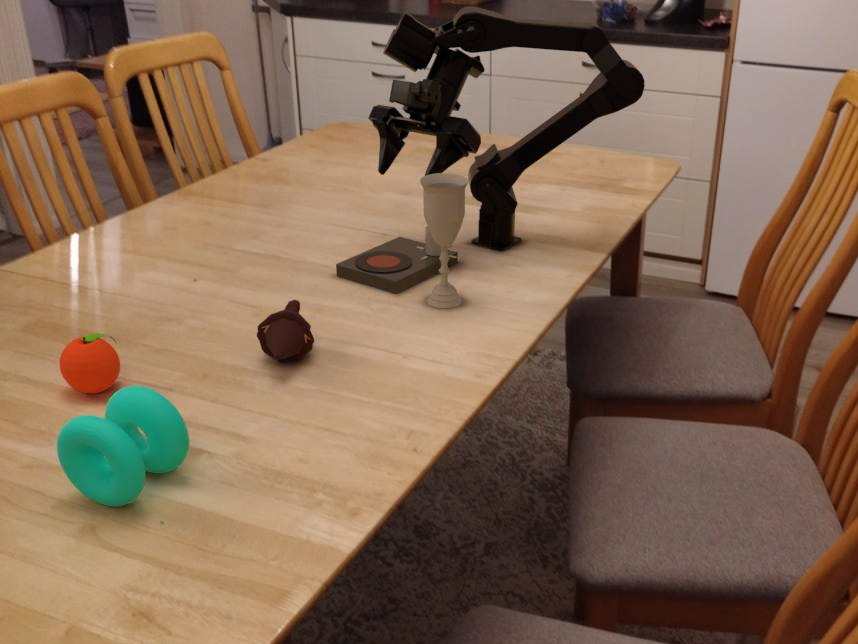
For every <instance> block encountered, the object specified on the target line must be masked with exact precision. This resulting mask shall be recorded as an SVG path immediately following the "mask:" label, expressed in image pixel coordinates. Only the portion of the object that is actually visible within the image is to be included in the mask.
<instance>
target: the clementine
mask: <svg viewBox="0 0 858 644" xmlns="http://www.w3.org/2000/svg"><path fill="white" fill-rule="evenodd" d="M102 337H108V338H111V339H112V340H113V341H114V343H115V344H118V342H117V341H116V339H115V338H114V337H113V336H112V335H107V334H104V333H92V334H88V335H84V336H79V337H75V338H74V339H72V340H71V341H70V342H68V344H66V345H65V347H64V348H63V350H62V352H61V353H60V357H59V371H60V374H61V376H62V378H63V379H64V381H65V382H66V384H68V386H69V387H71V388H72V389H74V390H75V391H78V392H81V393H84V394H98V393H103V392H104V391H106V390H108V389H109V388H111V387H112V386H113V385H114V384H115V383H116V381H117V380H118V377H119V376H120V371H121V361H120V360H121V359H120V358H119V357H120V356H119V354H118V352H117V351H116V349H115V348H114V347H113V346H112V345H111V344H110V343H109V342H108V341H107V340H105V339H103V338H102Z"/></svg>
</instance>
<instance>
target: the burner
mask: <svg viewBox="0 0 858 644" xmlns="http://www.w3.org/2000/svg"><path fill="white" fill-rule="evenodd" d="M355 265H356V266H357V267H358V268H359V269H361V270H364V271H368V272H374V273H392V272H398V271H402V270H405V269H407V268H409V267H410V266H411V265H412V259H411V258H410V257H409V256H407V255H405V254H402V253H398V252H391V251H378V252H370V253H366V254H363V255H361V256H359V257H357V258H356V260H355Z"/></svg>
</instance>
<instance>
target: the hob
mask: <svg viewBox="0 0 858 644" xmlns="http://www.w3.org/2000/svg"><path fill="white" fill-rule="evenodd" d="M452 245H453V244H451V245H449V246H448V256H449V258H450V259H449V260H448V263H447V265H448V268H449V269H450V268H452V267H454V266H456V265H458V264H459V252H458V251H456V250H452V249H449V248H451V247H452ZM378 251H391V252H398V253H402V254H405V255H407V256H409V257H410V258H411V259H412V265H411V266H410V267H409V268H407V269H405V270H402V271H398V272H392V273H374V272H368V271H364V270H361V269H359V268H358V267H357V266H356V265H355V260H356V258H357V257H359V256H361V255H363V254H366V253H370V252H378ZM439 257H440V256H430V255H427V254H426V253H425V242H422V241H418V240H414V239H411V238H407V237H403V236H398V237H396V238H393V239H391V240H388V241H386V242H384V243H382V244H379V245H377V246H375V247H372V248H370V249H367V250H365V251H363V252H361V253H358V254H356V255H354V256H351V257H349V258H347V259H345V260H342V261H340V262H337V263H335V268H336V277H339V278H342V279H346V280H348V281H352V282H356V283H359V284H363V285H366V286H369V287H372V288H376V289H379V290H382V291H386V292H389V293H393V294H397V295H398V294H400V293H401V292H403V291H406V290H407V289H409V288H411V287H413V286H415V285H417V284H420V283H421V282H423V281H426V280H428V279H429V278H431V277H433V276H436V275H438V274H439V273H440V272H439V271H438V270H439V269H440V268H441V265H442V264H441V261H440V259H439ZM440 274H441V273H440Z"/></svg>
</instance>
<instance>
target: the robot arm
mask: <svg viewBox="0 0 858 644" xmlns="http://www.w3.org/2000/svg"><path fill="white" fill-rule="evenodd" d="M454 48H455V49H454ZM459 48H460V49H461V50H460V49H459ZM507 48H523V49H534V50H535V49H537V50H547V51H548V50H549V51H562V52H574V53H575V52H576V53H585V54H587V56H588V58H589V59H590V60H591V61H592V63H593V64H594V65H595V67H596V68H597V69H598V71H599V73H597V75H596V76H595V77H594V78H593V79H592V81H591V82H590V83H589V85H588V86H587V87H586V89H585V90H584V91H583V93H582V94H581V95H580V96H578V97H577V98H576V99H574V100H573V101H572V102H569V104H567V105H566V106H564V107H563V108H562V109H560V110H559V111H557V112H556V113H555V114H554V115H551V116H550V117H549V118H548V119H546V120H545V121H544V122H542V123H540V125H538V126H537V127H536V128H534V129H533V130H531V131H529V132H528V133H527V134H526V135H525V136H523V137H522V138H520V139H519V140H518V141H517V142H515V143H514V144H512V145H511V146H508V147H505V148H501V149H498V147H497V145H496V143H493V144H492V145H490V146H489V147H487V149H486V150H485V151H484V152H483V153H481V154H478V155H475V156H474V157H473V158H474V162H473V163H472V164H471V165H470V167H469V168H468V174H467V178H468V180H469V181H468V185H469V189H470V193H471V195H472V197H473V198H474V199H475V200H476V201H477V202H480V203H481V205H480V208H479V210H478V211H479V212H478V218H479V219H478V227H477V228H478V229H477V230H478V231H477V232H478V233H477V235H478V236H477V237H475V238H472V239H471V241H470V242H471V244H472V245H476V246H480V247H485V248H488V249H492V250H497V251H499V252H500V251H501V252H502V251H505V250H508V249H509V248H511V247H513V246H515V245H517V244H519V243H522V240H523V239H522V237H519V236H516V235H515V227H516V209H517V207H518V203H519V202H518V201H517V197H516V194H515V191H514V188H513V187H514V185H515V183H516V182H517V181H518V180H519V179H520V177H521V175H522V174H523V173H524V172H525V171H526V170H527V169H528V168H530V167H531V166H532V165H534V164H535V163H537V162H538V161H539V160H541V159H542V158H544V157H545V156H547V155H548V154H549V153H550V152H551V153H552V151H554V150H555V149H557V148H558V147H559V146H560V145H562V144H564V143H565V142H566V141H567V140H569V139H570V138H572V137H573V136H575V135H576V134H578V133H579V132H580V131H581V130H583V129H584V128H586V127H587V126H588V125H590V124H591V123H593V122H594V121H595V120H597V119H599V118H601V117H605V116H608V115H611V114H615V113H619V111H621V110H624V109H625V108H628V107H630V106H632V105H634V104H635V103H637V102H638V101H639V100H640V99H641V98H642V97H643V95H644V91H645V79H644V76H643V74H642V72H641V71H640V69H638V68H637V67H636V66H635V65H634V63H632V62H630V61H629V60H626V59H623V58H622V57H621V56H620V55H619V53H618V52H617V50H616V49H615V48H614V46H613V45H612V43H611V42H610V41H609V40H608V38H607V37H606V34H605V32H604V30H603V29H602V28H601V26H599V25H598V24H596V23H594V22H584V23H579V22H567V21H552V20H541V19H528V18H527V19H526V18H514V17H510V16H507V15H504V14H502V13H498V12H495V11H492V10H489V9H485V8H483V7H482V8H481V7H478V6H474V5H469V6H464V7H462V8H461V9H460V10H459V11H458V12H457V13H456V14H455V16H454V18H453V19H451V20H450V21H448V22H445V23H444V24H442V25H439V26H438V27H436V28H433V29H432V28H431V27H428V26H427V25H425V24H424V23H422V22H421V21H419V20H418V19H416V18H415V17H414V16H413V15H411V14H410V13H408V12H407V11H404V12H403V14H402V16H401V18H400V20H399V21H398V23H397V25H396V26H395V28H393V30H392V32H391V33H390V36H389V38H388V40H387V42H386V45H385V47H384V50H383V52H382V53H383V55H384V56H387V57H388V58H389V59H392V60H393V61H395V62H396V63H399V64H400V65H402V66H403V67H405V68H407V69H409V70H410V71H412V72H413V73H417V71H418V70H420V71H425V70H426V69H427V68H428V66H429V64H430V62H431V60H432V58H433V56H434V55H435V58H434V59H433V62H432V64H431V66H430V68H429V71H428V73H427V76H426V78H423V79H422V80H418V81H417V82H412V81H407V80H400V79H392V83H391V88H390V94H389V101H388V102H389V103H392V104H394V103H396V104H399V105H401V106H403V107H402V110H403V111H404V112H405V114H408V115H409V117H405V116H404V115H402V113H401V112H400V111H399V110H398V109H397V108H396V107H395V106H389V105H388V106H387V105H383V104H377V105H373V106H372V109H371V111H370V113H369V115H368V118H367V119H368V120H369V121H370V123H372V126H373V127H374V128H375V129H376V130H377V132H378V136H379V154H378V168H377V172H378V173H379V174H380V175H382V176H384V175H385V174H386V173H387V171H388V170H389V169H390V167H391V166H392V165H393V163H394V162H395V160H396V158H397V157H398V155H400V152H401V151H402V149H403V148H404V147H405V145H406V142H405V141H404V140H405V139H406V138H408V136H409V134H410V133H415V134H421V135H427V136H433V137H436V138H435V139H436V143H435V149H434V150H433V153H432V156H431V158H430V160H429V163H428V164H427V167H426V170H425V173H424V176H427V175H430V174H436V173H445V171H447V170H448V169H449V168H450V167H452V166H453V165H454V164H456V163H457V162H459V161H460V160H462V159H463V158H468V157H469V156H470V154H477V153H478V152H479V151H478V150H479V149H480V147H481V144H482V137H481V134H480V133H479V131H478V130H477V129H476V128H475V127H474V126H473V124H471V122H470V121H469V120H468V118H465V117H457V116H451V115H452V114H453V111H456V112H459V111H460V109H461V106H462V105H461V103H460V102H459V101H458V99H459V98H460V95H461V93H462V91H463V88H464V86H465V84H466V82H467V80H468V77H469V76H471V77H473V78H474V79H478V78H479V77H480V76H481V75H482V74H483V73H485V71H486V69H485V67H484V65H483V63H482V61H481V56H480V55H476V56H470V55H469V54H467V53H470V54H476V53H477V54H478V53H486V52H492V51H497V50H502V49H507ZM453 49H454V50H453ZM465 52H467V53H465Z"/></svg>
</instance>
